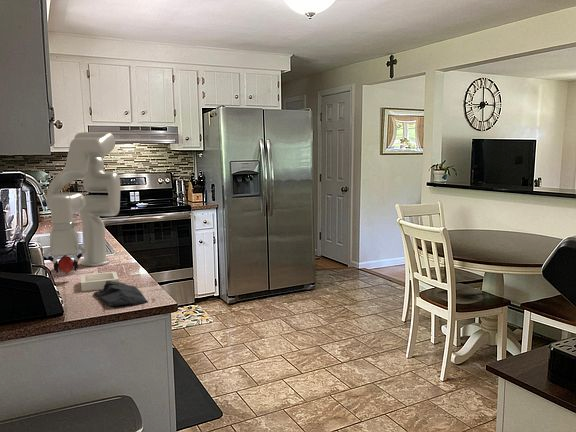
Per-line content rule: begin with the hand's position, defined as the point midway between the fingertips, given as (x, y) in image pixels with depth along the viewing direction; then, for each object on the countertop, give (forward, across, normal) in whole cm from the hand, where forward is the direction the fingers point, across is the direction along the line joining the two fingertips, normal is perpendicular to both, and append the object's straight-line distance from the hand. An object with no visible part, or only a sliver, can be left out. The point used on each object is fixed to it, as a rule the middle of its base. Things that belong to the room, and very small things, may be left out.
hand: (66, 270), depth 184 cm
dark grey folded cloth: (+4, -17, +33) cm, 37 cm away
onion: (+1, 0, 0) cm, 1 cm away
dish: (+4, -12, +12) cm, 17 cm away
